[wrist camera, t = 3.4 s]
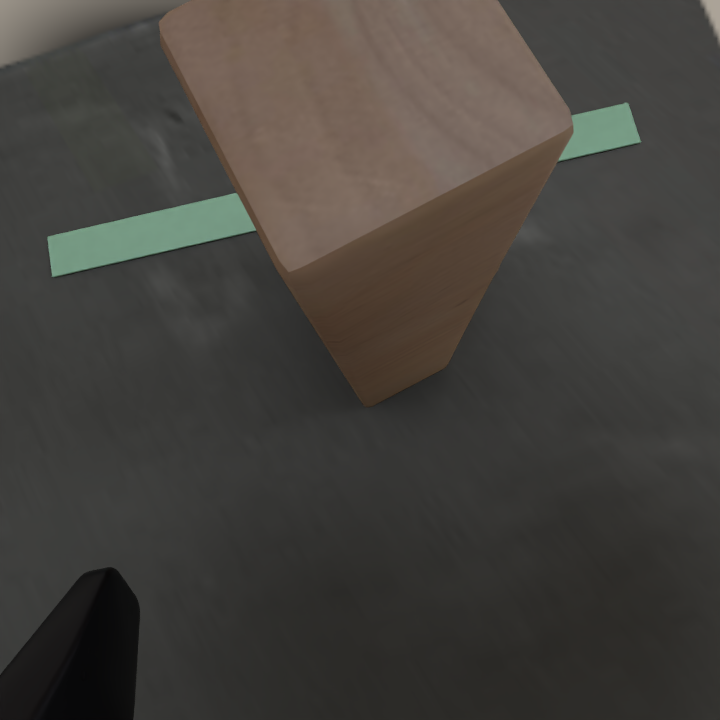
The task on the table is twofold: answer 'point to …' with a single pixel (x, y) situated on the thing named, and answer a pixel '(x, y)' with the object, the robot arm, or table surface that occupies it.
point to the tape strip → (232, 218)
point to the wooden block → (375, 159)
